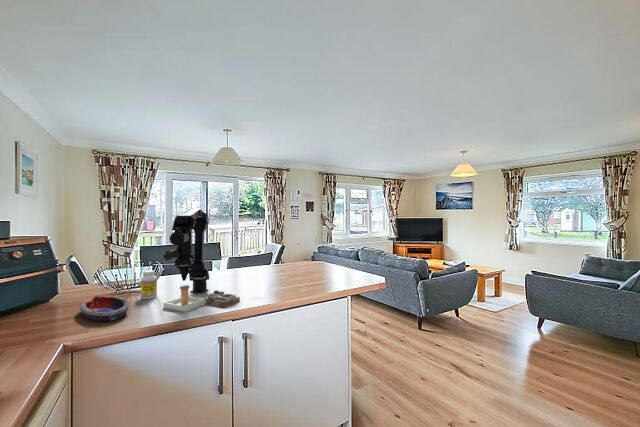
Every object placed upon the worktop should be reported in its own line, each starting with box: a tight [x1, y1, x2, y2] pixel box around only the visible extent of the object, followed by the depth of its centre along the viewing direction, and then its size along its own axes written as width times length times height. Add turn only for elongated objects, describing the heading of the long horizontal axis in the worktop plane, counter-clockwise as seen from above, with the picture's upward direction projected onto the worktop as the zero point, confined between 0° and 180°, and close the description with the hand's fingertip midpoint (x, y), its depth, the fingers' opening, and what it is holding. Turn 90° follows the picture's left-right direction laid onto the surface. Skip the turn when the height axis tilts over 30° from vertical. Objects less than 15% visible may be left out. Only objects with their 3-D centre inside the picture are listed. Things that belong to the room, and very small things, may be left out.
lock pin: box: [179, 284, 190, 306], centre depth 129 cm, size 4×4×8 cm
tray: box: [162, 295, 207, 313], centre depth 129 cm, size 12×12×2 cm
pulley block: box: [203, 289, 241, 308], centre depth 135 cm, size 14×10×5 cm
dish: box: [79, 295, 130, 322], centre depth 121 cm, size 16×31×5 cm, turn 46°
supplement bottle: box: [140, 269, 158, 300], centre depth 143 cm, size 7×7×13 cm
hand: (184, 278), depth 129 cm, fingers open, 9 cm apart
